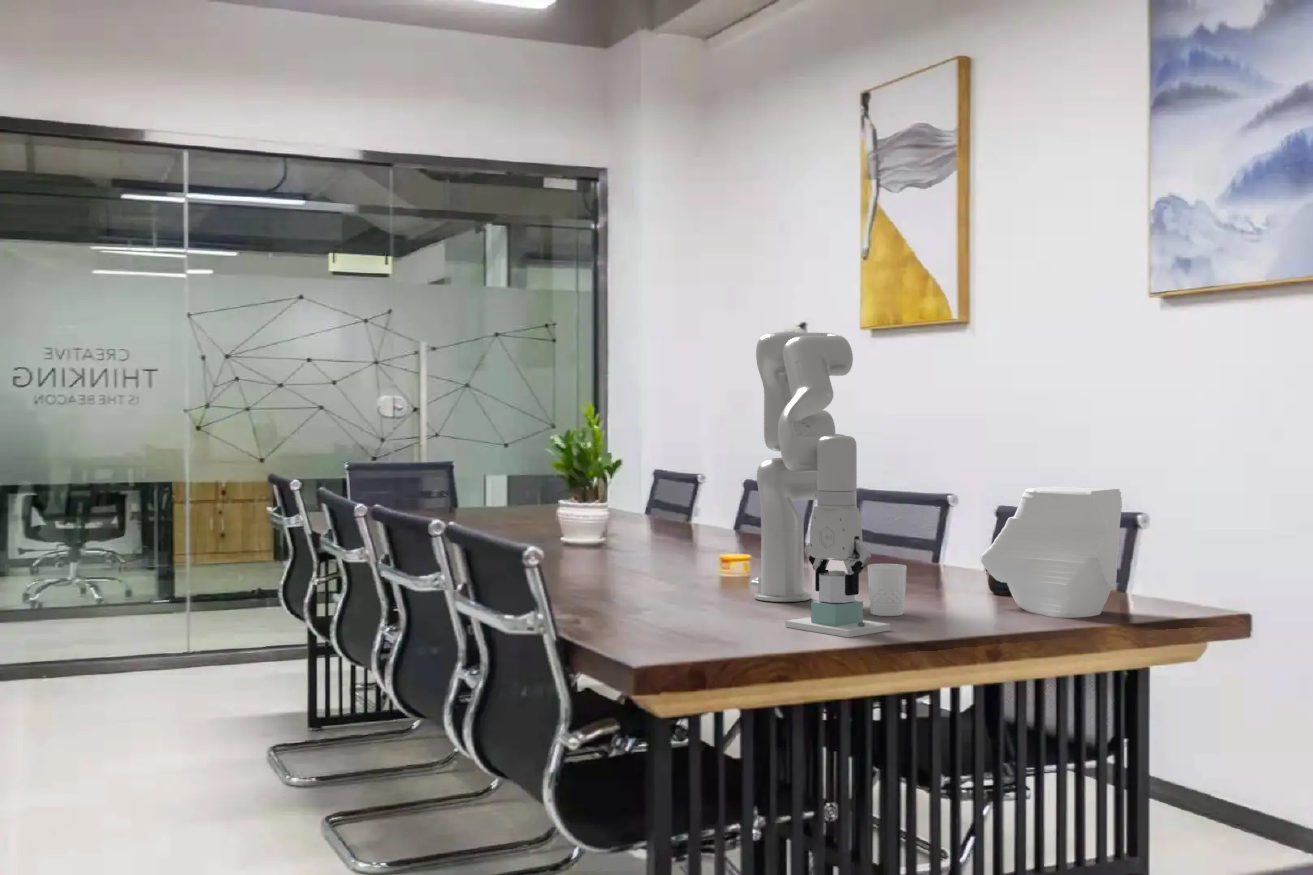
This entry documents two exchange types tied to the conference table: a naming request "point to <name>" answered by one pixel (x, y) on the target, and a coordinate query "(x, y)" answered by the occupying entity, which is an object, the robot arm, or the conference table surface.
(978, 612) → the conference table surface
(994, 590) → the mate gourd
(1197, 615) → the conference table surface
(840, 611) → the pedestal
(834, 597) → the grey hollow octagonal block
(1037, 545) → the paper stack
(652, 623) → the conference table surface
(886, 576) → the white cup
